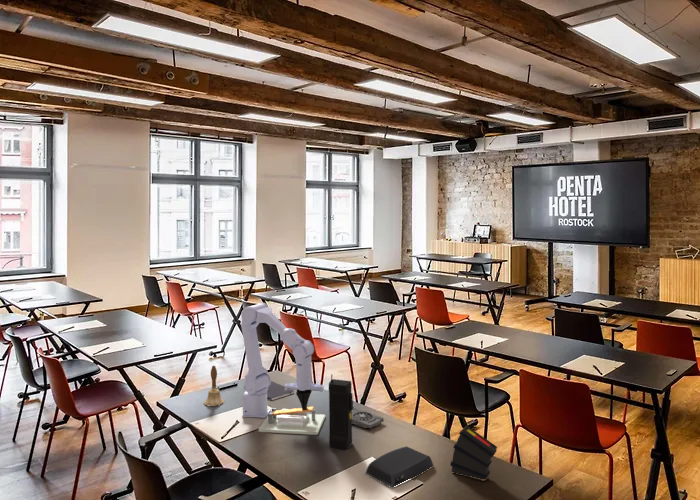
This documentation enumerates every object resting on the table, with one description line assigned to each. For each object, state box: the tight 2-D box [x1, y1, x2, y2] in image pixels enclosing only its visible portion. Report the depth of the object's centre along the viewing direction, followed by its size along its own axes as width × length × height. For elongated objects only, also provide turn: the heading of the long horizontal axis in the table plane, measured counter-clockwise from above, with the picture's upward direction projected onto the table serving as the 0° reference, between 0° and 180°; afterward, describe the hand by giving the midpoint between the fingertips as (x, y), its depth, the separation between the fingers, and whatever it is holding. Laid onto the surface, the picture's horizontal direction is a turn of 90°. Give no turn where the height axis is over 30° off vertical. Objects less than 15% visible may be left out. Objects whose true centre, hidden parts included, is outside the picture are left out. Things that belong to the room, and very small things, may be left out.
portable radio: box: [328, 374, 354, 450], centre depth 183 cm, size 8×6×25 cm
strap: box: [270, 406, 315, 416], centre depth 201 cm, size 17×3×1 cm, turn 82°
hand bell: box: [203, 365, 225, 407], centre depth 222 cm, size 8×8×16 cm
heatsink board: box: [258, 407, 326, 436], centre depth 201 cm, size 22×16×5 cm
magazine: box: [450, 425, 498, 479], centre depth 162 cm, size 4×13×15 cm, turn 59°
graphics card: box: [352, 404, 385, 429], centre depth 203 cm, size 17×4×12 cm
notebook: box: [243, 380, 295, 401], centre depth 237 cm, size 13×2×21 cm
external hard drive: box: [364, 445, 434, 488], centre depth 167 cm, size 13×19×4 cm
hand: (304, 408), depth 200 cm, fingers closed
